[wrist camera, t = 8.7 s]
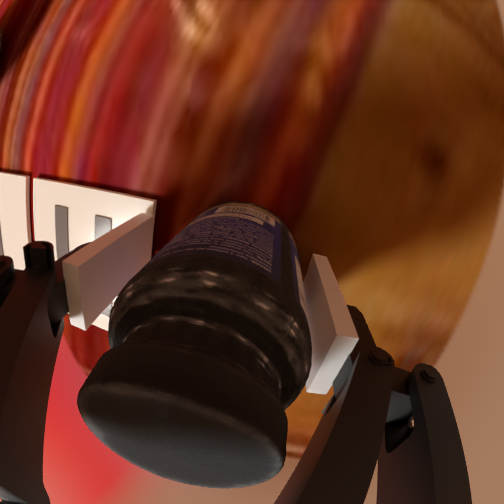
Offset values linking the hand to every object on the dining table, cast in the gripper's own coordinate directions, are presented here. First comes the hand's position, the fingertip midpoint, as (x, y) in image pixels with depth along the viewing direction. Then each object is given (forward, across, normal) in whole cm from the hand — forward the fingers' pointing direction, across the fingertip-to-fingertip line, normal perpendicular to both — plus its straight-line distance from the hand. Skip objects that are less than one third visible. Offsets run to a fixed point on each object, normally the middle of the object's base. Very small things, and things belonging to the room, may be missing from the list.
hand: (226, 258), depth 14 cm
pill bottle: (+1, +1, 0) cm, 1 cm away
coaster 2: (+1, -9, -3) cm, 10 cm away
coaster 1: (+1, -20, -3) cm, 21 cm away
